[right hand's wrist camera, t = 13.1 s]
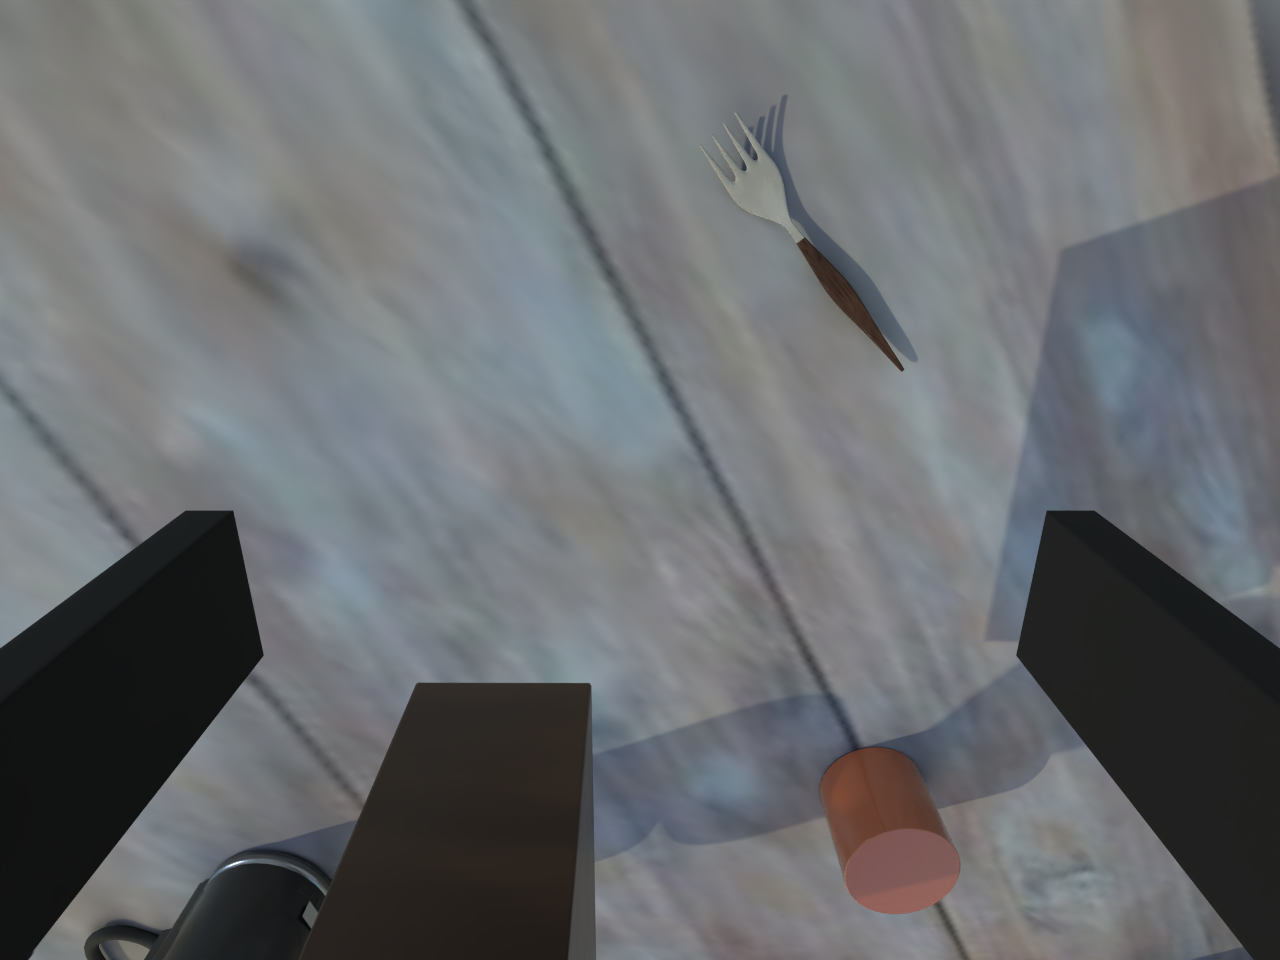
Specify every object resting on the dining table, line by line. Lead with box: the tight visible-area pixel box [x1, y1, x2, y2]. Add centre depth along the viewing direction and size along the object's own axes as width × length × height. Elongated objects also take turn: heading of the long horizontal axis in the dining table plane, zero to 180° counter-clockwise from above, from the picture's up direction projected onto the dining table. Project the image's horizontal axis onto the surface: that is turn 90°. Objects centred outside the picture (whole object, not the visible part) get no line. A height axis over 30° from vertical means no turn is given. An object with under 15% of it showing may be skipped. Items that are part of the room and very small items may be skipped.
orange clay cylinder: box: [820, 747, 960, 914], centre depth 50 cm, size 7×7×7 cm
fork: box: [700, 112, 904, 371], centre depth 39 cm, size 3×16×2 cm, turn 42°
